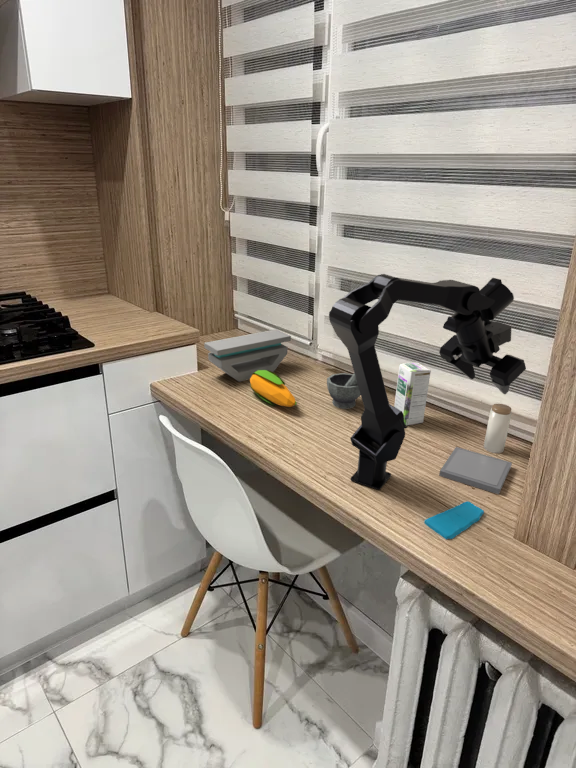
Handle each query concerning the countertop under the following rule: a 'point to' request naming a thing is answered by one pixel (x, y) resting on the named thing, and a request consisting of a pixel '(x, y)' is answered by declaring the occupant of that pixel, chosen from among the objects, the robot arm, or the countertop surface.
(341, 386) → the mortar and pestle
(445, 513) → the sponge
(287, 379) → the countertop surface
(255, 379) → the corn
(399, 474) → the countertop surface
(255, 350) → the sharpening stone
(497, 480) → the slate trivet
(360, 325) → the robot arm
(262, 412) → the countertop surface
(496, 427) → the spice jar
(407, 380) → the syrup box
